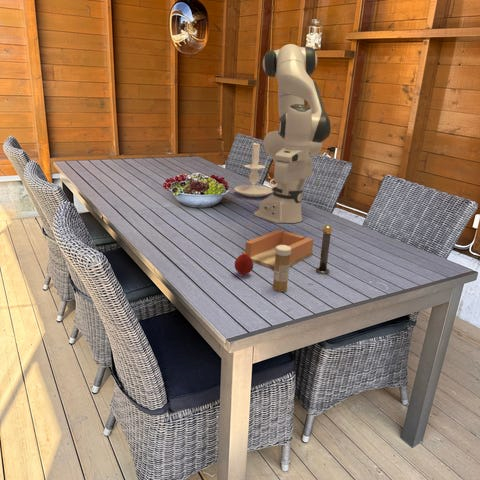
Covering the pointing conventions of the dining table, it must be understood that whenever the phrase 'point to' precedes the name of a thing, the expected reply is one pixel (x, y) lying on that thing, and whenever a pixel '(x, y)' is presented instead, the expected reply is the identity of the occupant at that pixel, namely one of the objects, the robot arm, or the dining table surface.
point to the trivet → (272, 258)
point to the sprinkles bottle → (281, 267)
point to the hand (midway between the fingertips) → (292, 192)
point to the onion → (243, 264)
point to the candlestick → (254, 177)
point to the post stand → (324, 250)
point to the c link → (275, 238)
